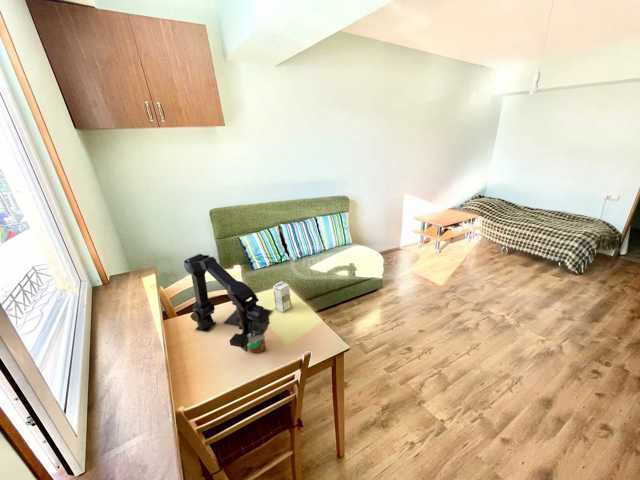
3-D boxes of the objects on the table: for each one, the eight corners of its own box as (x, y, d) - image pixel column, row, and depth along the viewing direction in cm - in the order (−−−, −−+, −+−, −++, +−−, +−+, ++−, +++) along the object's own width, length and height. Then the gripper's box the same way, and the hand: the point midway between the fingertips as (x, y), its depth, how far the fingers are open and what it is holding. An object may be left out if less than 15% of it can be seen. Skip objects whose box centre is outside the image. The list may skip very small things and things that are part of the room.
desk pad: (224, 323, 136) (224, 322, 135) (240, 306, 148) (240, 305, 147) (257, 329, 132) (257, 327, 131) (271, 311, 144) (271, 310, 143)
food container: (240, 345, 122) (235, 328, 117) (252, 338, 126) (248, 321, 121) (254, 360, 115) (250, 342, 110) (267, 352, 119) (264, 334, 114)
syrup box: (284, 303, 150) (280, 280, 143) (291, 307, 147) (288, 284, 140) (275, 308, 146) (272, 285, 139) (283, 312, 143) (280, 289, 136)
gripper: (251, 333, 102) (258, 363, 109) (274, 303, 118) (279, 332, 125) (224, 328, 104) (233, 358, 112) (251, 300, 120) (257, 328, 128)
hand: (252, 343), depth 119 cm, fingers open, 9 cm apart
